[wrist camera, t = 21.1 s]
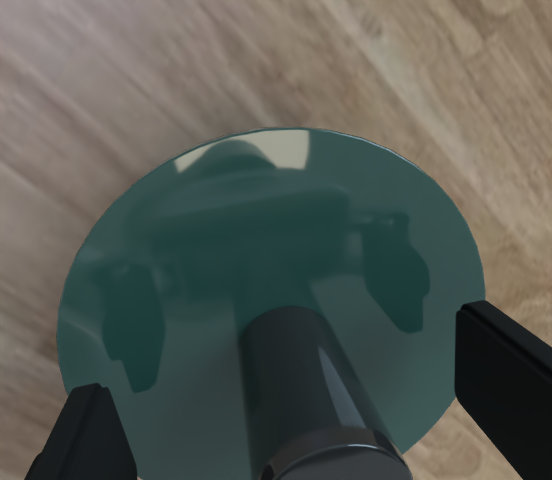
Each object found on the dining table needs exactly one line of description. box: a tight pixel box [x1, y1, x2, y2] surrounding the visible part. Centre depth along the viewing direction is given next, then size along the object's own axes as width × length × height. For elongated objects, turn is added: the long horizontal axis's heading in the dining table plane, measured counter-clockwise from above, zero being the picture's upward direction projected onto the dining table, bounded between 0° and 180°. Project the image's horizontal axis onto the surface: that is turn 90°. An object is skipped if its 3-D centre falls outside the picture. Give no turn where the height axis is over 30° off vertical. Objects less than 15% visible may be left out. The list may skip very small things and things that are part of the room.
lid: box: [56, 126, 486, 480], centre depth 10 cm, size 13×13×6 cm
